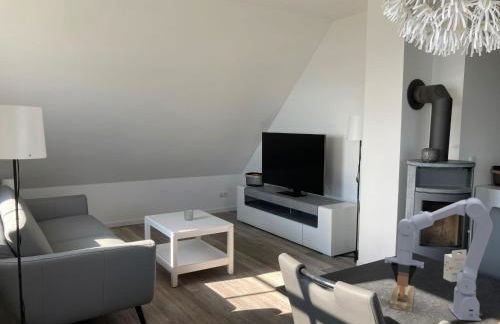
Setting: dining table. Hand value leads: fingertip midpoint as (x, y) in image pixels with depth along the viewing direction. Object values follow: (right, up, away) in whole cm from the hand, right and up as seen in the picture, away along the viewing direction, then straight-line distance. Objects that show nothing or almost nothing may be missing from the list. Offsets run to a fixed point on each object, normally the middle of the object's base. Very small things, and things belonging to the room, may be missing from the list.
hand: (402, 282), depth 163 cm
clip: (0, -5, 0) cm, 5 cm away
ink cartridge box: (+34, -7, +27) cm, 44 cm away
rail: (+2, -8, +4) cm, 9 cm away
